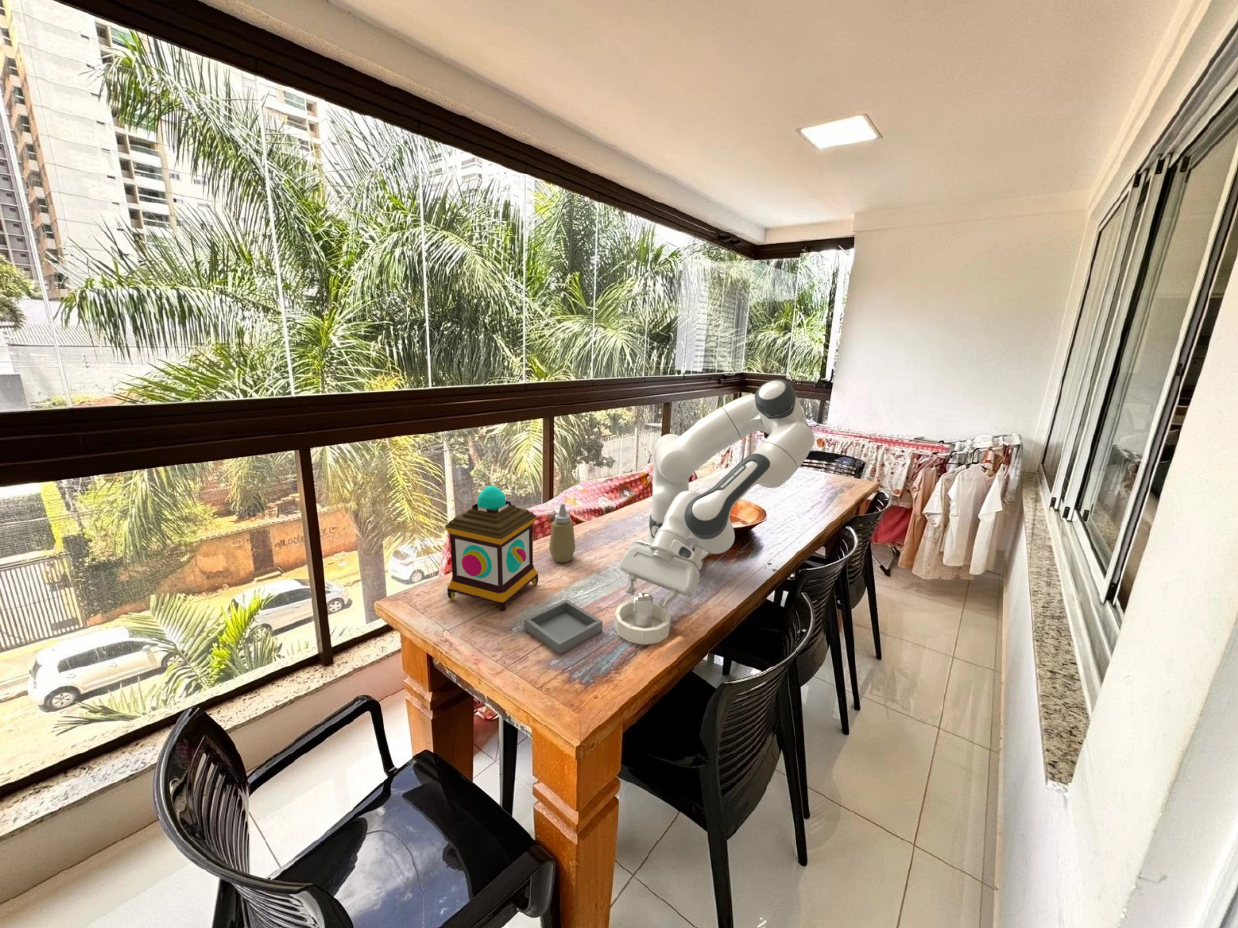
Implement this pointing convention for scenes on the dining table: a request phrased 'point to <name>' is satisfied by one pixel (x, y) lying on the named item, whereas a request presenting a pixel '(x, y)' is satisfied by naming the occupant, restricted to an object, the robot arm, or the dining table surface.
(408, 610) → the dining table surface
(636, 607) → the pebble cup
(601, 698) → the dining table surface
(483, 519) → the decorative lantern
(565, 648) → the tray
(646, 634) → the bowl
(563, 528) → the squeeze bottle
